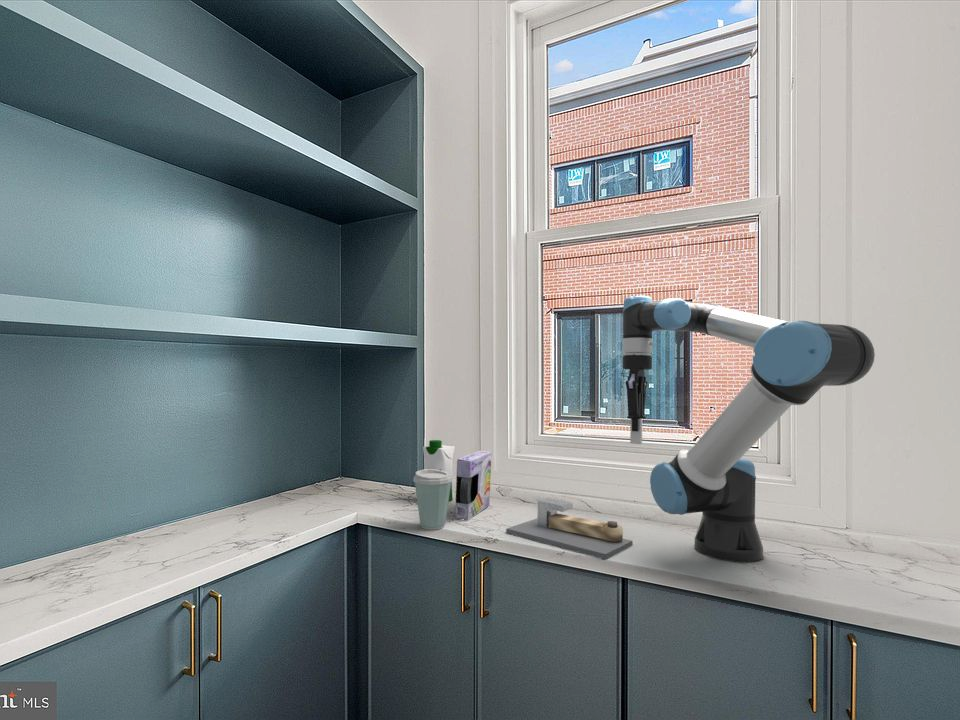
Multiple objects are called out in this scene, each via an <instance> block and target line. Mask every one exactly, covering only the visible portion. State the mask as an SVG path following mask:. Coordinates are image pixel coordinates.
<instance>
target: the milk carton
mask: <svg viewBox="0 0 960 720" xmlns="http://www.w3.org/2000/svg"><path fill="white" fill-rule="evenodd" d="M455 448H456V446H453V445H451V446H450V445H443V443H442V440H439V439H438V440H437V439H431V440H429V443H428V445H425V446H422V450H423V456H424V459H423V460H424V462H423V463H424V465H423V466H424V469H436V470H441V471H445V472H448V473H449V475H450V476H451V477H452V478H453V458H454V452H455ZM424 469H423V470H424ZM450 502H453V480H452V481H451V487H450V494H449V501H448V503H450Z"/></svg>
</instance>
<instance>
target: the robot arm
mask: <svg viewBox="0 0 960 720" xmlns="http://www.w3.org/2000/svg"><path fill="white" fill-rule="evenodd" d="M652 298H653V297H651V296H648V295H634V296H633V295H631V296H627V297H626V298H624V300H623V307H622V308H623V309H622V353H623V354H624V355H623V356H622V369H623V370H629V373H628V376H627V380H626V381H625V386H626V387H625V388H626V397H627V398H626V399H627V412H628V413H627V417H626V418H627V419H630V438H629V440H630V442H629V443H630V444H633V445H642V444H643V420H644V419H645V420H646V416H645V414H646V411H645V410H646V397H647V387H648V381H647V377H646V376H645V370H652V368H653V356H652V355H650V354H652V353H653V352H652V351H653V350H652V349H653V347H652V346H654V345H655V343H654V341H653V340H652V339H653V332H655V331H657V332H658V331H671V332H672V331H673V332H687V333H688V332H690V333H691V332H692V333H700V334H704V335H708V336H710V337H711V336H712V337H716V338H718V339H722V340H725V341H728V342H732V343H735V344H739V345H743V346H746V347H749V348H753V350H752V351H753V352H754V355H752V364H751V366H750V373H751V378H750V380H748V382H747V383H746V384H745V385H744V386H743V387H742V389H741V390H740V391H739V392H738V394H736V396H735V397H734V398H733V399H732V400H731V401H730V402H729V404H728V405H727V406H726V407H725V409H724V410H723V411H722V413H720V414H719V415H718V417H717V418H716V419H715V420H714V421H713V423H712V424H711V425H710V426H709V428H708V429H707V430H706V431H705V433H703V435H702V436H701V437H700V438H699V439H698V440H697V441H696V443H695V444H694V445H693V446H692V447H691V446H688V447H683V448H682V449H681V450H680V451H679V452H678V453H677V454H676V456H674V457H673V458H672V460H671V461H669V462H665V461H662V462H661V463H658V464H656V465H655V466H653V469H651V473H650V476H649V477H650V478H649V483H650V484H649V485H650V490H651V491H650V492H651V494H652V497H653V500H654V501H655V503H656V505H657V506H658V508H660V509H661V510H662V511H663V512H665V513H667V514H669V515H679V516H681V515H682V516H683V515H685V514H686V515H687V514H688V515H689V514H695V513H702V516H701V520H700V522H699V525H698V528H697V530H696V533H695V536H694V549H695V550H696V551H697V552H699V553H700V554H702V555H704V556H707V557H710V558H714V559H718V560H723V561H729V562H738V563H739V562H741V563H751V562H757V561H760V560H762V559H764V546H763V543H762V539H761V537H760V534H759V531H758V528H757V526H756V480H757V476H756V467H755V463H754V462H752V461H751V460H749V459H745V458H743V456H744V455H746V453H747V452H748V451H749V450H750V449H751V448H752V447H753V446H754V445H755V444H756V443H757V442H758V441H759V440H760V439H761V437H762V436H764V435H765V433H766V432H767V431H769V429H770V428H772V427H773V425H774V424H776V422H777V421H778V420H779V419H780V418H781V417H782V416H783V415H784V414H785V413H786V412H787V411H788V410H789V409H790V408H791V406H802V405H805V404H806V403H807V402H809V400H810V399H812V397H813V396H815V395H816V393H818V392H819V390H820V389H822V387H824V386H825V387H826V386H827V387H829V386H830V387H831V386H833V387H834V386H838V387H839V386H846V385H850V384H853V383H856V382H858V381H860V380H861V379H862V378H864V377H865V376H866V375H867V374H868V373H869V372H870V370H871V369H872V367H873V365H874V363H875V357H876V356H875V355H876V354H875V353H876V352H875V348H874V345H873V343H872V341H871V340H870V337H868V336H867V335H866V334H865V333H864V332H863V331H861V330H859V329H858V328H855V327H853V326H849V325H845V324H833V323H832V324H830V323H829V324H828V323H817V322H812V321H808V320H794V321H793V320H792V321H787V320H783V319H777V318H772V317H768V316H764V315H759V314H756V313H750V312H745V311H740V310H737V309H733V308H728V307H724V306H722V305H721V304H720V305H719V304H715V303H709V302H708V303H702V302H699V303H698V302H691V301H685V300H684V299H682V298H681V297H680V298H679V297H675V298H671V297H668V298H665V299H660V300H656V301H653V299H652Z"/></svg>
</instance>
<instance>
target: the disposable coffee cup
mask: <svg viewBox="0 0 960 720" xmlns="http://www.w3.org/2000/svg"><path fill="white" fill-rule="evenodd" d="M412 481H413V483H414V487H415V495H416V501H417V502H416V503H417V508H418V509H417V510H418V517H419V522H420V523H419V524H420V526H421V528H422V529H424V530H428V531H436V530H441V529H443V528H444V527H445V525H446V522H447V521H446V520H447V514H448V507H449V506H448V505H449V502H448V501H449V494H450V487H451V481H452V482H453V476H452V477H451V476H450V475H449V473H448V472H445V471H441V470H436V469H419V470H417V471H415V475H414V476H413V480H412ZM442 527H443V528H442Z"/></svg>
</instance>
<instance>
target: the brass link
mask: <svg viewBox="0 0 960 720" xmlns="http://www.w3.org/2000/svg"><path fill="white" fill-rule="evenodd" d="M549 528H554V529H558V530H563V531H567V532H572V533H577V534H581V535H586V536H591V537H595V538H600V539H604V540H606V541H612V542H619V541H622V540H623V539H624V538H623V535H624V533H623V529H624V527H623V526H622V525H620V524H618V522H617V521H613V520H610V521H607V522H603V521H598V520H594V519H593V520H592V519H588V518H582V517H578V516H573V515H568V514H563V513H562V514H561V513H558V512H557V513H556V514H553V515H551V516H549Z"/></svg>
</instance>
